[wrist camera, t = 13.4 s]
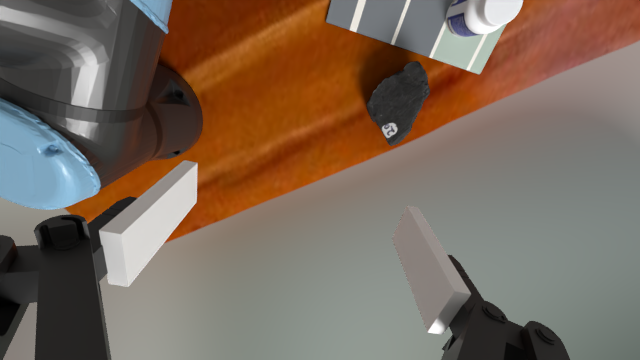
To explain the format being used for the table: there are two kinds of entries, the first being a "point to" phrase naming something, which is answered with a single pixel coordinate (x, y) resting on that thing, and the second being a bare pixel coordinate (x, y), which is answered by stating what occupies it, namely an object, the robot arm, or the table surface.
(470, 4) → the pill bottle
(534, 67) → the table surface
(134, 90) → the robot arm
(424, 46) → the lane
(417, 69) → the rock
